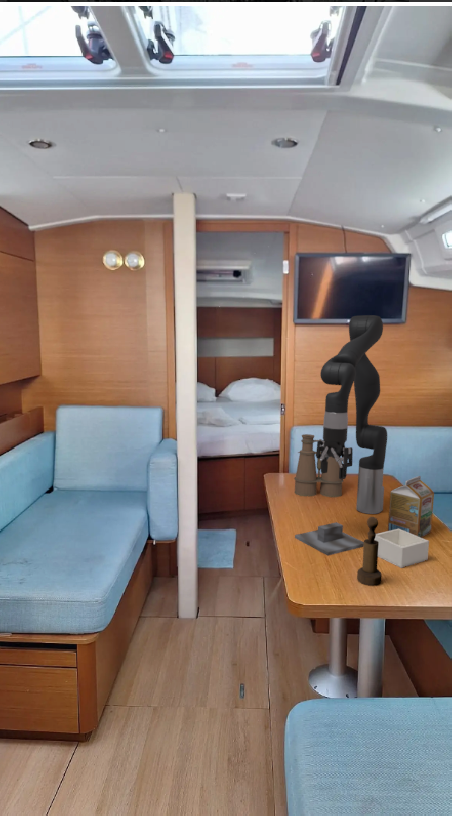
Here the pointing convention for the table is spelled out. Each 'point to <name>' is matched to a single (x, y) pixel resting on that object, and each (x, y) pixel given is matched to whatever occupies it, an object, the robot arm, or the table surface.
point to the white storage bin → (402, 547)
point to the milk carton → (411, 508)
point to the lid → (330, 539)
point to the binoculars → (307, 472)
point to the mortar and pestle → (370, 557)
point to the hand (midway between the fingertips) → (332, 475)
